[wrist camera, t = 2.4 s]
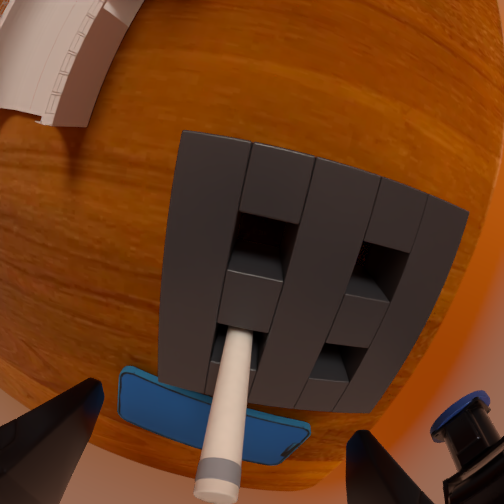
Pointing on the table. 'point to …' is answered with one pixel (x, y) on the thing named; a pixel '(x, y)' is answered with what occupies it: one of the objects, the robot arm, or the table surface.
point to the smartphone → (202, 418)
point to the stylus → (226, 423)
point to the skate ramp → (59, 55)
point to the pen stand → (297, 273)
